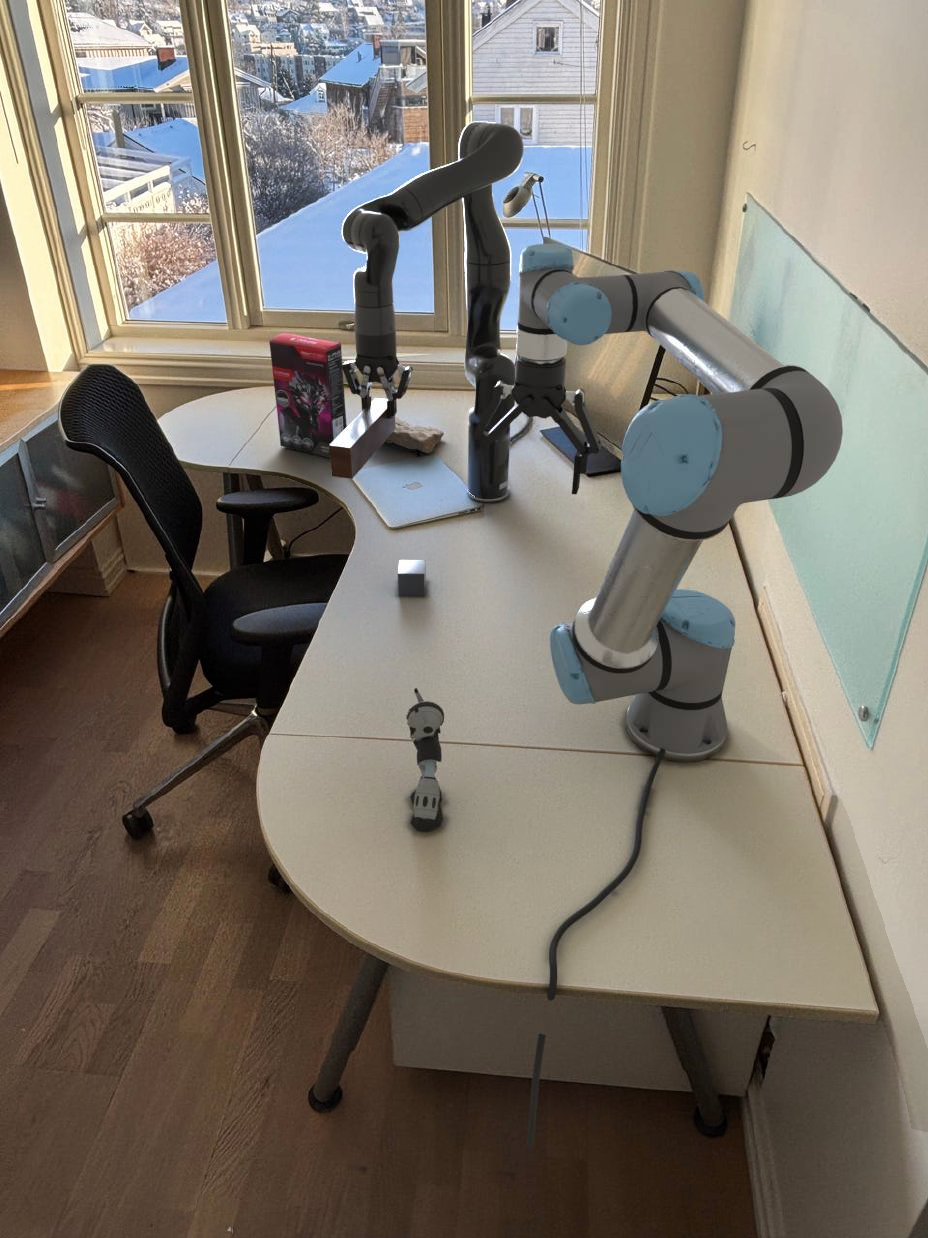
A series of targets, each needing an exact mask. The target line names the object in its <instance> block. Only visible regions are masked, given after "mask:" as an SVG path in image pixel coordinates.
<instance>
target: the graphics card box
mask: <svg viewBox="0 0 928 1238" xmlns="http://www.w3.org/2000/svg"><path fill="white" fill-rule="evenodd" d="M268 343H269V351H270V359H271V360H270V361H271V368H272V377H273V387H274V396H275V406H276V415H277V423H278V434H279V442H280V443H279V444H280V447H283V448H288V449H292V450H296V451H301V452H304V453H310V454H313V455H317V456H322V457H326V458H330V451H329V445H330V444H331V443H332V442H333V441H334V440H335V439H336V438H337V437H338V436H339V435H340V434H341V433H342V432H343V431H344V430H345V429H346V428H347V427H348V425H347V413H346V398H345V384H344V382H345V381H344V372H343V369H342V365H343V355H342V343H341V341H329V340H324V339H320V338H314V337H309V336H304V335H298V334H293V333H288V332H282V333H280V334H277V335H276V336H274V337H273V338H271V339H270V340H269V341H268Z"/></svg>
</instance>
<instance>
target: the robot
mask: <svg viewBox="0 0 928 1238" xmlns="http://www.w3.org/2000/svg"><path fill="white" fill-rule="evenodd" d="M413 691H414V694H415V696H416V699H417V703H415V704H414V705H413V706H411V707H410V708H409V709H408V711H407V713H406V714H405V716H406V717H405V718H406V720H407V722H406V724H407V725H408V728H409V738H410V739H411V740H413V742H412V743H413V745H414V747H415V749H416V764H417V766H418V769H419V770H420V773H421V775H420V778H419V780H418V784H417V786H416V788H415V789H414V791H413V792H412V793H411V795H410V796H409V798H410V801H411V803H412V805H413V815H412V817H411V820H410V822H409V823H410V825H411V826H412V827H413V828H414V829H415V830H416V831H420V832H424V833H425V832H431V831H433V830H435V829H437V828H440V827H441V826H442V822H443V820H444V817H443V809H442V806H441V802H442V801H443V798H442V797H443V795H442V794H443V793H442V789H441V787H440V784H439V780H437V777H436V776H435V774H436V773H437V769H438V768H437V767H438V765H437V764H438V763H442V756H443V754H442V746H441V743H440V738H439V734H441V732H442V731H441V727H442V726H443V724H444V723H445V713H444V709H443V708H442V707H441V706H440V705H439V704H437V703H436V702H433V701H430V700H424V698H423V696H422V695H421V693H420V691H419V690H418V688H417V687H415V688H414V689H413ZM437 762H438V763H437Z"/></svg>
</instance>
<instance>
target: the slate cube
mask: <svg viewBox="0 0 928 1238" xmlns="http://www.w3.org/2000/svg"><path fill="white" fill-rule="evenodd" d="M426 567H427V565H426V559H399V561H398V568H397V591H398V597H426V585H427V568H426Z"/></svg>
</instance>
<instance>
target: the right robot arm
mask: <svg viewBox="0 0 928 1238" xmlns="http://www.w3.org/2000/svg"><path fill="white" fill-rule="evenodd" d="M574 270H575V265H574V252H573V251H572V249H571V248H570V247H568V246H565V245H562V244H557V243H556V244H555V243H538V244H530V245H528V246H526V247H524V248H523V249H522V251H521V253H520V259H519V269H518V272H517V276H518V289H517V290H518V293H517V294H518V297H517V300H518V301H517V324H516V341H515V342H516V345H515V353H516V354H517V356H516V358H515V384H514V386H511V385H506V384H505V383H504V382H503V381H499V382H498V383H497V385H496V386H495V387H494V392H493V399H492V401H491V403H490V404H489V406H488V408H487V410H486V412H485V413H484V415H483V417H482V419H481V421H480V422H479V424H478V426H477V428H476V430H475V431H474V433H473V435H472V437H473V439H474V440H480V441H482V442H483V444H484V462H487V463H490V464H489V484H494V482H495V481H496V479H497V474H498V441H499V440H494V439H495V438H496V437H497V436H498V435H499V434H500V433H501V432H502V431H503V430H504V429H505V428H506V427H507V426H508V425H509V424H510V425H511V423H512V422H513V421H514V420H516V419H517V418H518V417H519V416H521V414H523V415H525V416H526V417H527V418H528V417H531V418H535V417H538V418H540V419H545V420H546V419H548V418H551V419H552V420H553V421H554V423H555V424H557V425H558V427H559V428H560V429H561V431H562V432H563V433H564V435H565V436H566V437H567V439H568V441H570V443H571V444H572V445H573V446H574V448H575V449H576V452H575V455H574V462H573V474H572V484H571V485H572V486H571V495H577V494H578V492H579V489H580V482H581V475H585V474H586V473H587V471H588V468H589V458H590V455H591V454H595V455H596V454H599V453H600V451H601V448H602V441H601V439H600V435H599V433H598V431H597V428H596V425H595V423H594V420H593V419H592V417H591V414H590V411H589V409H588V407H587V404H586V391H585V390H584V389H583V388H578V389H577V391H576V390H575V391H573V390H571V391H570V390H569V391H568V390H566V389H567V388H566V387H565V380H566V368H567V367H566V366H567V359H566V358H565V356H566V355H567V353H568V343H570V344H572V345H576V346H587V345H588V346H589V345H591V344H593V343H595V342H596V341H599V339H601V338H602V337H603V336H604V335H612V334H622V333H623V334H624V333H634V332H635V333H637V332H646V333H647V335H649V336H650V337H651V338H652V339H654V340H655V341H656V342H657V343H658V344H659V345H660V346H661V347H662V348H663V349H665V351H667V353H669V354H670V355H671V357H673V358H674V359H675V360H676V361H677V362H678V363H679V364H680V365H681V366H682V367H684V369H686V371H688V372H689V373H690V375H691V376H693V377H694V378H695V379H696V380H697V381H698V382H699V383H700V384H701V385H702V386H703V387H705V388H706V389H707V391H709V392H710V393H709V394H700V395H698V394H691V393H687V394H686V393H685V394H679V395H676V396H673V397H671V398H665V399H660V400H655V401H652V402H650V403H649V404H646V405H645V406H643V407H642V408H641V409H640V410H639V411H638V412H637V413H636V414H635V415H634V417H633V419H632V420H631V422H630V423H629V425H628V428H627V429H626V432H625V435H624V438H623V441H622V446H621V454H622V455H623V459H622V460H621V462H620V476H621V482H622V485H623V489H624V492H625V494H626V496H627V498H628V500H629V503H631V506H632V507H633V511H632V514H631V516H630V517H629V521H628V523H627V525H626V527H625V529H624V533H623V534H622V537H621V538H620V542H619V544H618V546H617V548H616V550H615V553H614V556H613V558H612V560H611V563H610V565H609V567H608V569H607V572H606V574H605V576H604V579H603V581H602V583H601V586H600V587H599V590H598V593H597V594H596V597H593V598H591V599H590V600H588V601H586V602H585V603H584V604H583V605H582V606H581V607H580V608H579V610H578V612H577V613H576V615H575V618H574V621H573V622H568V623H566V622H561V623H560V624H556V625H555V626H554V627H552V629H551V631H550V635H549V646H550V647H549V648H550V655H551V662H552V666H553V669H554V670H553V671H554V674H555V677H556V679H557V682H558V685H559V687H560V690H561V692H562V694H563V695H564V697H565V698H566V699H567V701H569V702H570V703H571V704H573V705H587V704H592V705H595V704H596V703H600V702H606V701H611V700H616V699H621V698H626V697H631V696H634V697H633V699H632V701H631V702H630V704H629V706H628V708H627V711H626V719H625V728H626V732H627V734H628V736H629V738H630V739H631V741H632V742H634V744H636V745H637V746H638V747H639V748H640V749H641V750H643V751H645V752H646V753H648V754H650V755H651V756H654V757H656V758H655V761H654V762H653V765H652V768H651V770H650V772H649V775H648V777H647V780H646V783H645V786H644V789H643V793H642V796H641V800H640V803H639V809H638V814H637V818H636V824H635V836H634V845H633V850H632V854H631V856H630V858H629V860H628V862H627V863H626V865H625V866H624V868H623V869H622V871H621V872H620V873H619V874H618V875H617V876H616V877H615V878H614V879H613V880H612V881H611V882H610V883H609V884H608V885H607V886H605V888H603V889H602V890H601V891H600V892H599V893H598V894H597V895H596V896H595V897H594V898H593V899H592V900H591V901H589V902H588V903H587V904H585V906H583V907H582V908H580V909H578V910H577V911H575V912H574V913H573V914H571V915H570V916H569V917H568V918H567V919H565V920H564V922H562V923H561V925H560V926H559V927H558V928H557V930H556V931H555V933H554V935H553V937H552V939H551V942H550V945H549V949H548V963H549V982H548V989H547V996H546V997H547V999H548V1001H553V1000H555V997H556V993H557V986H558V962H557V951H558V946H559V943H560V940H561V939H562V937H563V936H564V934H565V933H566V932H567V930H568V929H569V928H570V927H571V926H572V925H574V924H575V923H576V922H577V921H579V920H580V919H582V918H583V917H584V916H586V915H588V913H591V911H593V910H594V909H595V908H596V907H598V905H600V904H601V902H603V901H604V900H605V899H606V898H607V896H609V895H610V894H611V893H612V892H613V891H614V890H615V889H616V888H618V886H620V884H621V883H623V881H624V880H625V879H626V878H627V877H628V876H629V874H630V873H631V871H632V870H633V868H634V866H635V865H636V863H637V860H638V858H639V855H640V851H641V848H642V839H643V827H644V826H643V825H644V819H645V814H646V810H647V806H648V800H649V797H650V793H651V789H652V787H653V783H654V780H655V777H656V775H657V773H658V770H659V769H660V765H661V763H662V761H663V760H666V761H670V762H675V763H694V762H700V761H703V760H706V759H709V758H711V757H714V755H716V754H718V752H720V751H721V750H722V748H723V747H724V744H725V743H726V740H727V739H726V738H727V734H728V721H727V716H726V712H725V708H724V707H725V706H724V701H723V692H724V686H725V682H726V678H727V672H728V668H729V663H730V659H731V654H732V651H733V650H732V649H733V647H734V645H735V642H736V641H735V637H736V636H735V635H736V618H735V616H734V614H733V612H732V611H731V609H730V608H729V607H728V606H727V605H726V604H725V603H723V602H722V601H720V600H719V599H717V598H715V597H713V596H711V595H709V594H706V593H704V592H701V591H697V590H692V589H686V588H678V587H679V585H680V584H681V581H682V580H683V578H684V576H685V574H686V573H687V570H689V567H690V565H691V564H692V561H693V560H694V558H695V556H696V554H697V553H698V551H699V549H700V547H701V545H702V544H703V542H704V541H707V540H710V539H712V538H714V537H716V536H718V535H720V534H721V533H722V532H723V531H724V530H725V529H726V528H727V526H728V525H729V523H730V522H731V520H732V519H733V517H734V516H735V513H736V511H737V510H738V508H739V507H740V506H741V505H744V504H746V503H747V504H748V503H754V502H761V501H768V500H776V499H783V498H788V497H792V496H795V495H797V494H800V493H803V492H804V491H806V490H808V489H809V488H811V487H813V486H814V485H816V484H817V483H818V482H819V481H820V480H821V479H822V478H823V477H824V476H825V475H826V474H827V473H828V472H829V470H830V469H831V467H832V465H833V464H834V463H835V462H836V459H837V457H838V454H839V452H840V450H841V446H842V439H843V435H844V434H843V433H844V432H843V431H844V430H843V418H842V414H841V410H840V407H839V405H838V403H837V401H836V399H835V397H834V396H833V395H832V393H831V392H830V389H828V388H827V386H825V385H824V384H823V383H822V382H821V381H820V380H819V379H818V378H817V377H815V376H814V375H813V374H811V373H810V372H809V371H807V370H806V368H804V367H802V366H800V365H795V364H783V363H782V362H781V361H780V360H778V359H777V358H776V357H774V356H773V355H772V354H771V353H769V352H768V351H767V350H766V349H764V348H763V347H762V346H761V345H759V344H758V343H756V342H755V341H754V340H753V339H751V338H750V336H748V335H747V334H745V333H744V332H743V331H742V330H740V329H739V328H738V327H737V326H736V325H734V324H733V323H732V322H730V321H729V320H727V318H725V317H724V316H722V315H721V314H720V313H719V312H718V311H717V310H715V309H714V308H712V307H711V306H710V305H709V304H707V303H706V302H705V290H704V286H703V285H702V284H701V279H700V278H699V276H698V275H697V274H696V273H694V272H691V271H684V270H682V271H681V270H673V269H670V270H664V271H655V272H654V271H653V272H645V273H644V272H642V273H632V274H617V275H600V276H599V275H598V276H585V277H584V276H583V277H582V276H581V277H580V276H577V275H576V274H574V273H573V272H574ZM508 394H511V395H512V397H513V398H514V400H515V406H514V407H513V408H512V409H511V410H510V411H509V412H508V413H507V414H506V415H505V416H504V417H503V418H502V419H501V420H500V421H499V422H498V423H497V424H496V425H495V427H494V428H493V429H492V430H491V431H490V432H486V431H484V430H485V428H486V427H487V425H488V423H489V421H490V419H491V418H492V416H493V414H494V412H495V411H496V409H497V407H498V405H499V404H500V402H501V400H502V399H505V398H506V397H507V395H508ZM566 400H567V401H568V402H569V404H570V406H572V407H574V411H575V414H576V417H577V419H578V421H579V424H580V426H581V428H582V431H583V434H584V436H585V437H584V436H583V434H582V433H581V432H580V430H579V429H578V427H577V426H576V425H575V423H574V422H573V420H572V419H571V418H570V416H569V415H568V413H567V411H566V409H565V407H564V406H563V404H564V403H565V401H566ZM493 440H494V441H493ZM537 1036H538V1037H537V1042H536V1047H535V1048H536V1049H535V1055H534V1061H533V1070H532V1078H531V1089H530V1090H531V1091H530V1102H529V1114H528V1115H529V1116H528V1125H527V1136H526V1137H527V1139H526V1147H527V1148H529V1149H531V1148H532V1147H533V1146H534V1141H535V1131H536V1120H537V1109H538V1099H539V1087H540V1079H541V1072H542V1071H541V1069H542V1063H543V1057H544V1049H545V1044H546V1038H547V1035H546V1034H543V1033H540V1032H539V1033H538V1035H537Z"/></svg>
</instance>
